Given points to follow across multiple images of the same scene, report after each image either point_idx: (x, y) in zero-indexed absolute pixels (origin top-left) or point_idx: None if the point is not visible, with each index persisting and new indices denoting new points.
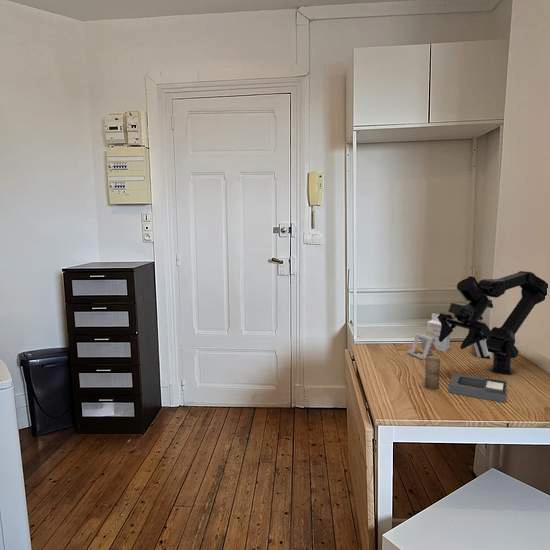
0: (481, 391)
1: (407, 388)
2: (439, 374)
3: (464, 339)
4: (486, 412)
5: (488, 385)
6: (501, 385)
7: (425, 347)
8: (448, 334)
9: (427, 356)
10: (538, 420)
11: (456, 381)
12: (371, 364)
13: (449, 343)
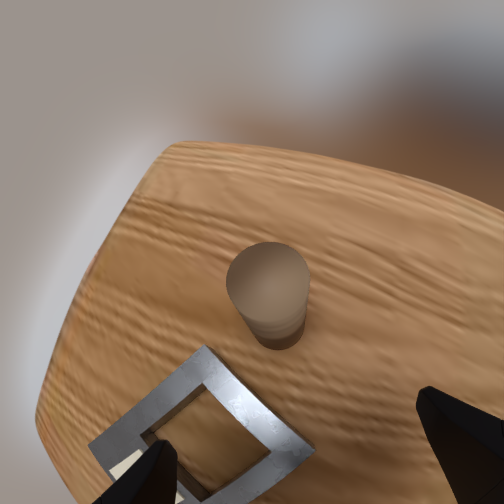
0: (127, 412)
1: (287, 238)
2: (254, 333)
3: (132, 495)
4: (83, 349)
5: None
6: None
7: None
8: (458, 498)
9: (301, 262)
10: (36, 414)
11: (225, 400)
12: (480, 226)
13: None
